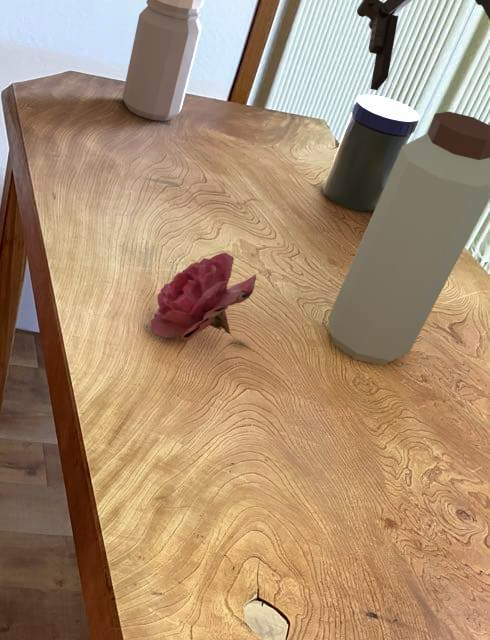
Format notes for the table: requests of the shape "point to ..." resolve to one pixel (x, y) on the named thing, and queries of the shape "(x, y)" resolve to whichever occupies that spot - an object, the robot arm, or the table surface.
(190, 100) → the table surface
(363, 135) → the spice jar
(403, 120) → the lid
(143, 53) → the jar
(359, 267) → the water bottle
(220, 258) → the flower
